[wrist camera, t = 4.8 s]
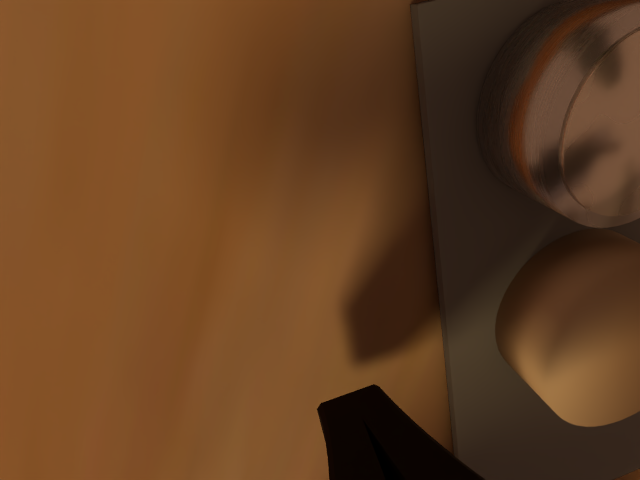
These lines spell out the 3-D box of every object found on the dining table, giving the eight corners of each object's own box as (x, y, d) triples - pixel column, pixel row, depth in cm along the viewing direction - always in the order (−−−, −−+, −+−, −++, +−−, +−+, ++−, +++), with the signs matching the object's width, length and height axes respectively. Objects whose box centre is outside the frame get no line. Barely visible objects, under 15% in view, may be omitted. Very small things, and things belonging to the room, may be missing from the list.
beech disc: (497, 395, 14) (545, 451, 12) (491, 259, 12) (547, 302, 10) (632, 344, 15) (695, 389, 13) (649, 206, 13) (725, 239, 11)
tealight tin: (504, 225, 12) (572, 268, 10) (453, 62, 10) (526, 80, 8) (648, 135, 12) (741, 161, 10) (627, -42, 10) (739, -49, 8)
